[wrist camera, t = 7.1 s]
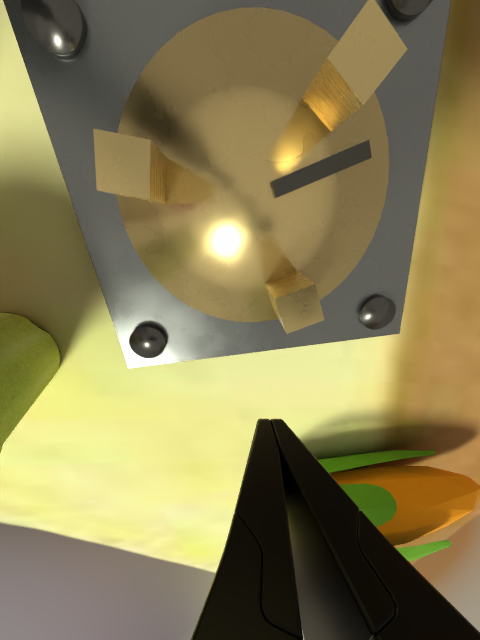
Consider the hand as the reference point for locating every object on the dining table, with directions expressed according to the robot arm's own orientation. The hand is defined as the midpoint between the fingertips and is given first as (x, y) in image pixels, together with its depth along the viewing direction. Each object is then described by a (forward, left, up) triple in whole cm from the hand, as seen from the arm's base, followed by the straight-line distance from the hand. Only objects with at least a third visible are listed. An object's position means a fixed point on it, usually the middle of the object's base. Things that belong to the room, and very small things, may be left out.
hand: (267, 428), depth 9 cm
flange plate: (-8, +1, -10) cm, 13 cm away
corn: (+18, +9, -11) cm, 23 cm away
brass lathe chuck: (-8, +1, -9) cm, 12 cm away
